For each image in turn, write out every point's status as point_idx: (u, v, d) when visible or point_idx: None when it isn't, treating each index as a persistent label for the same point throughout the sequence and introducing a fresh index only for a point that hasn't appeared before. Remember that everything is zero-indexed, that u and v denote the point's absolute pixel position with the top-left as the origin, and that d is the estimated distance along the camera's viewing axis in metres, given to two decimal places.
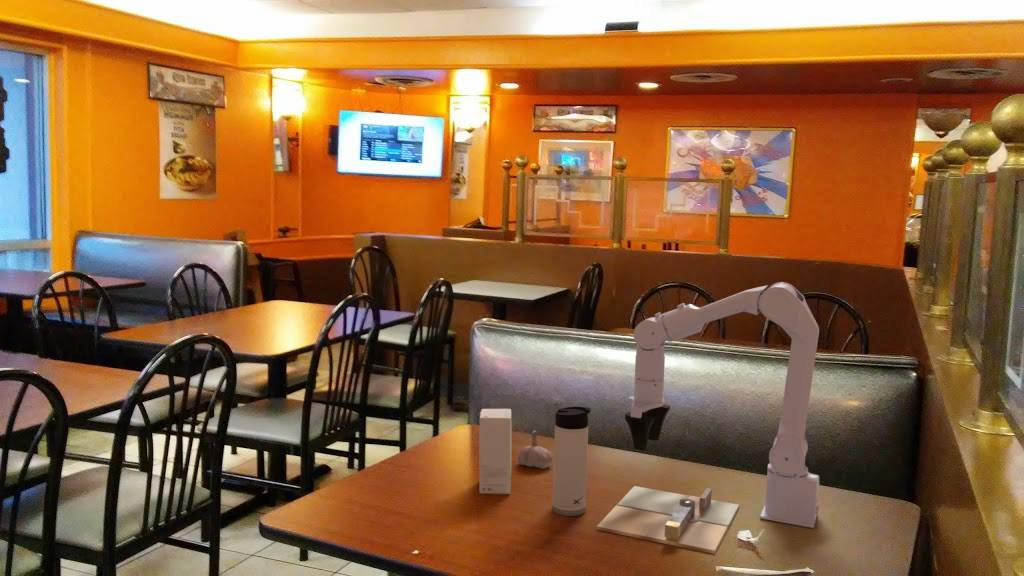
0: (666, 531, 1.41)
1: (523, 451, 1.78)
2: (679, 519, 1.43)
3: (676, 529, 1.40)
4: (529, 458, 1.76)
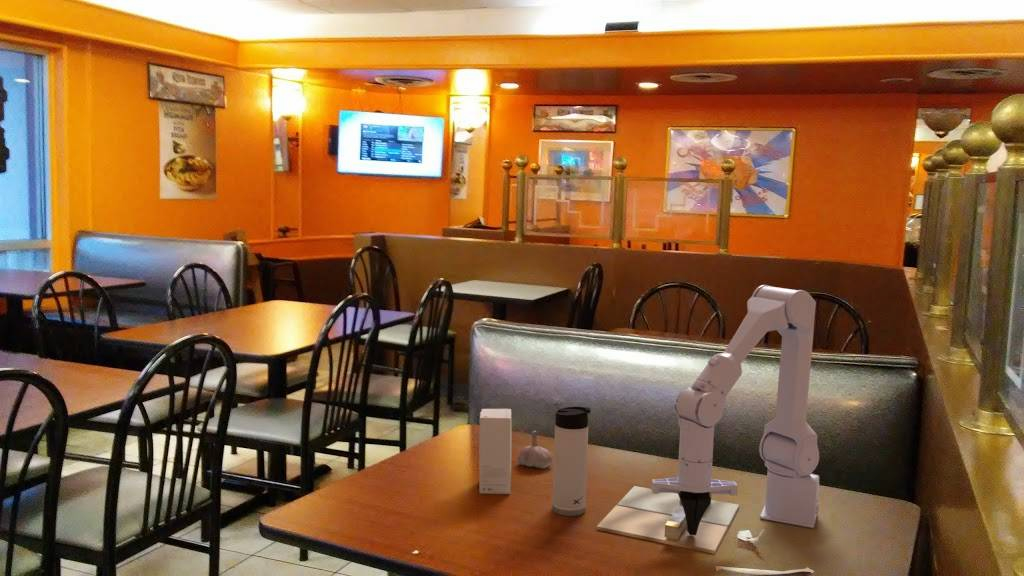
0: (666, 531, 1.41)
1: (523, 451, 1.78)
2: (679, 519, 1.43)
3: (676, 529, 1.40)
4: (529, 458, 1.76)
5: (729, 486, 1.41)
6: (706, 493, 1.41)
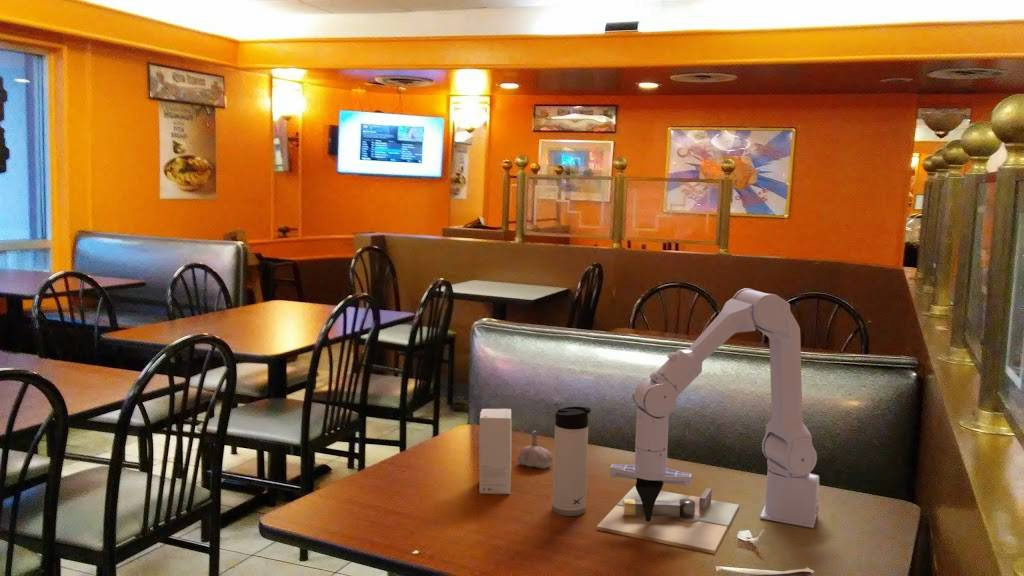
0: (623, 505, 1.52)
1: (523, 451, 1.78)
2: None
3: (624, 505, 1.50)
4: (529, 458, 1.76)
5: (682, 477, 1.45)
6: (660, 482, 1.46)
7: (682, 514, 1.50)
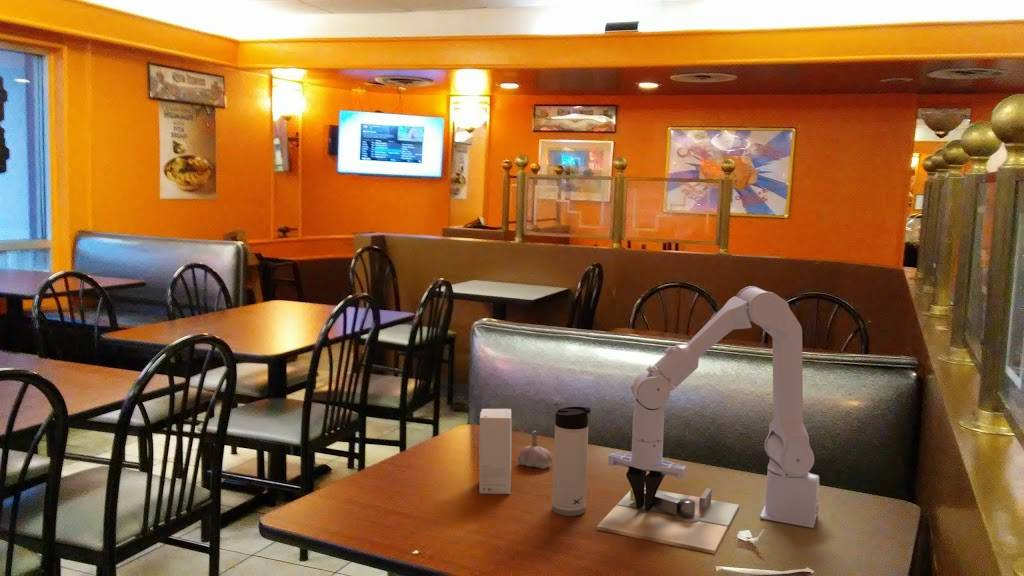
0: None
1: (523, 451, 1.78)
2: None
3: (631, 491, 1.58)
4: (529, 458, 1.76)
5: (674, 469, 1.49)
6: (655, 472, 1.51)
7: (679, 512, 1.51)
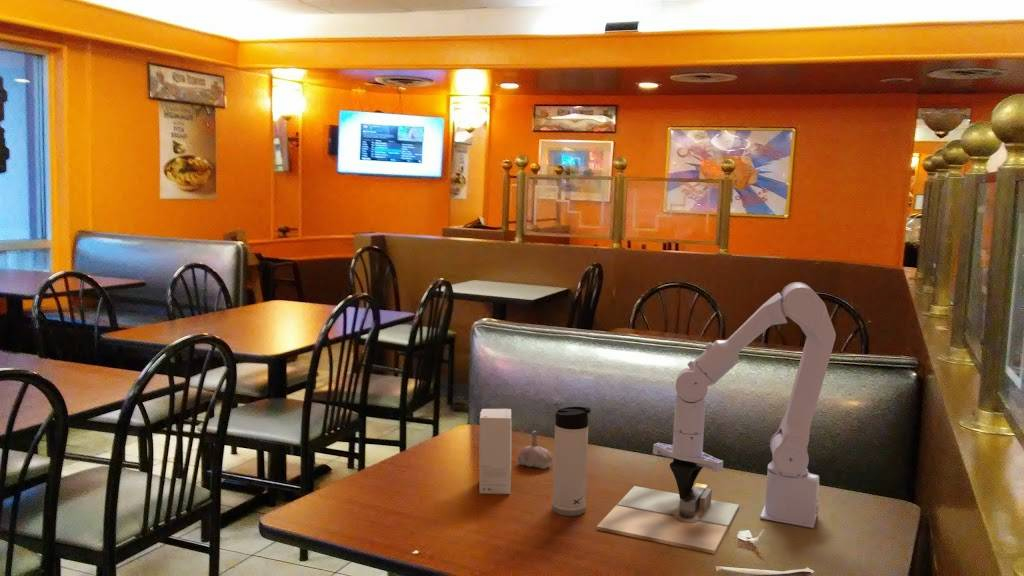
0: None
1: (523, 451, 1.78)
2: (694, 488, 1.58)
3: None
4: (529, 458, 1.76)
5: (710, 462, 1.53)
6: (693, 464, 1.56)
7: None
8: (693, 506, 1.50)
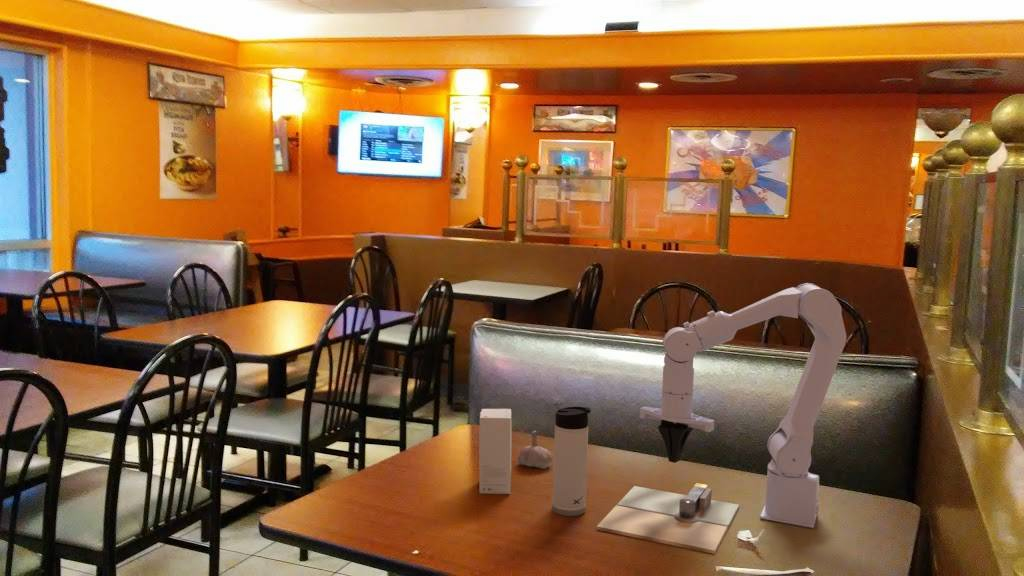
0: None
1: (523, 451, 1.78)
2: (694, 488, 1.58)
3: None
4: (529, 458, 1.76)
5: (702, 422, 1.51)
6: (683, 425, 1.53)
7: None
8: (693, 506, 1.50)
